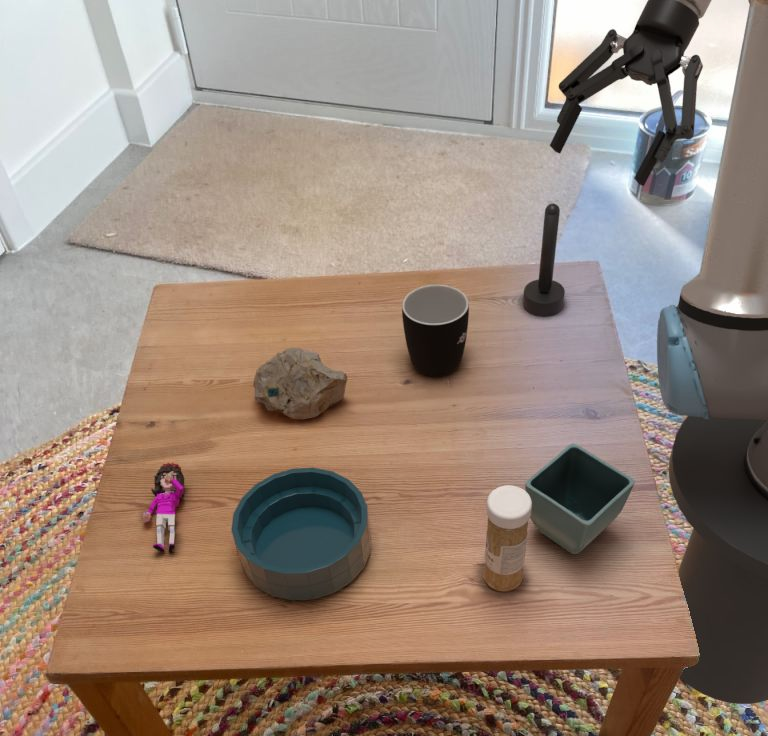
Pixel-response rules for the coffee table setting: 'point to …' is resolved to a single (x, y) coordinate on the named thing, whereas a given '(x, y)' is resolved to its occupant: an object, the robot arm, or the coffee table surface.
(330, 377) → the rock
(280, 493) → the bowl
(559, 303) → the peg on disc base
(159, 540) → the character figurine
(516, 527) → the spice jar
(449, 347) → the mug
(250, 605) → the coffee table surface
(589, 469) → the flower pot
